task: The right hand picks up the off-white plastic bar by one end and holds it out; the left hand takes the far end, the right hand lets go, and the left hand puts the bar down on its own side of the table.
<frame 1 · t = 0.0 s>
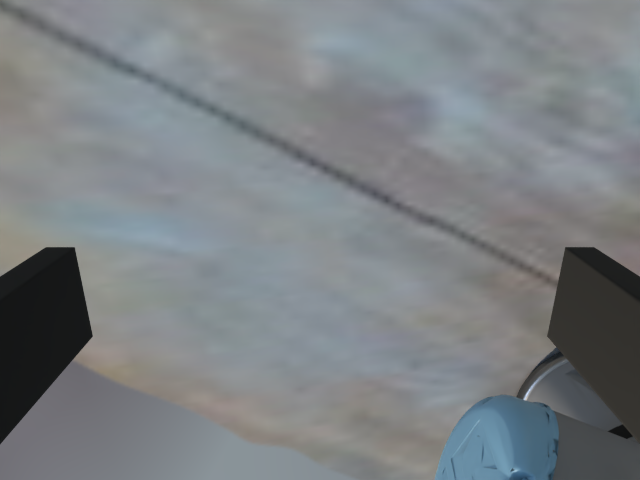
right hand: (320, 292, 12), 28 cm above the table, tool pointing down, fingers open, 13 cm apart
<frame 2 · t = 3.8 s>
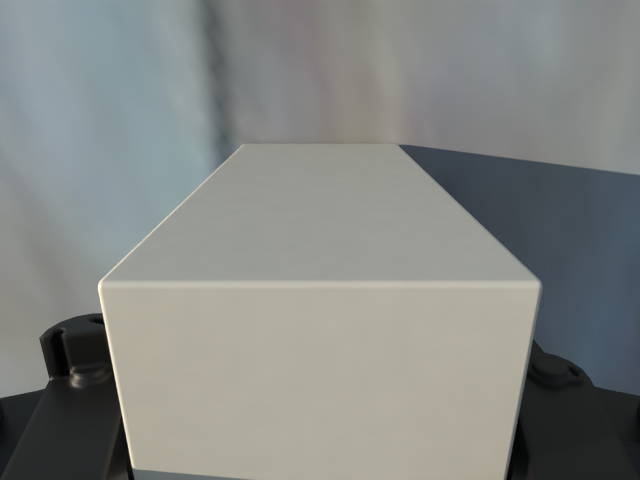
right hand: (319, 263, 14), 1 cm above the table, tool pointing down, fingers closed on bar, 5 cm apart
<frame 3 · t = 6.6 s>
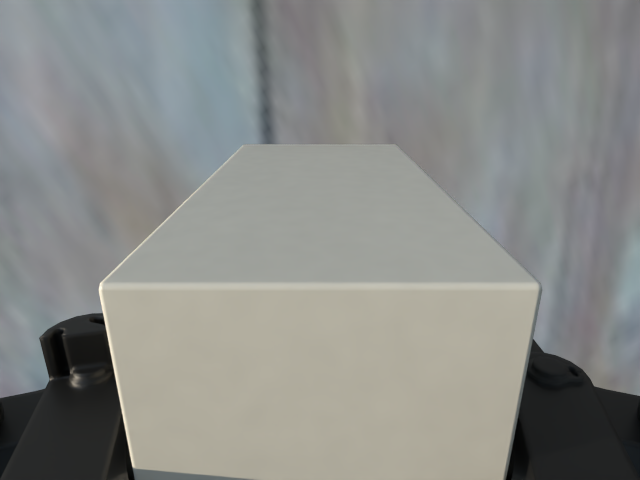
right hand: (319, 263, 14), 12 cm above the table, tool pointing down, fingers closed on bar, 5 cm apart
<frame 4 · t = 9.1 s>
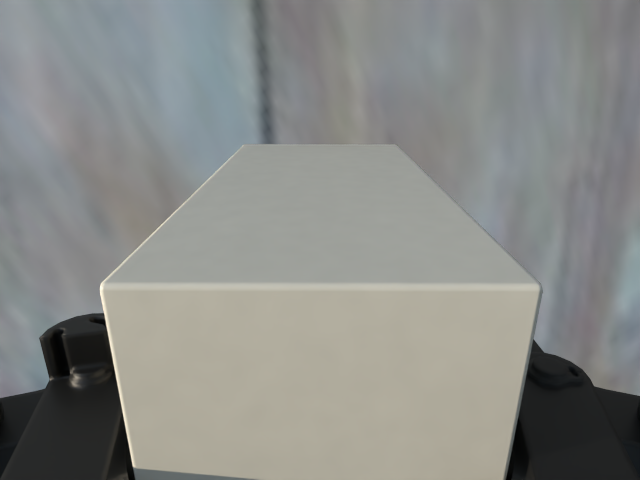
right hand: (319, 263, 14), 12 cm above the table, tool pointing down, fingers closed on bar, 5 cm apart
when the right hand's fingers open (12 cm above the table, at t = 9.7 s): bar stays where it is, held by the left hand.
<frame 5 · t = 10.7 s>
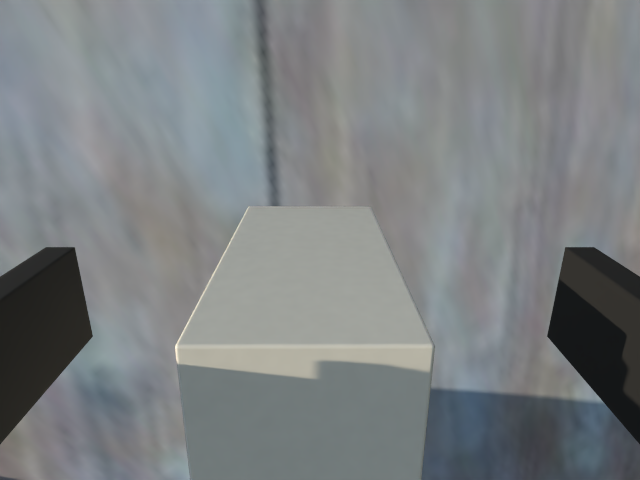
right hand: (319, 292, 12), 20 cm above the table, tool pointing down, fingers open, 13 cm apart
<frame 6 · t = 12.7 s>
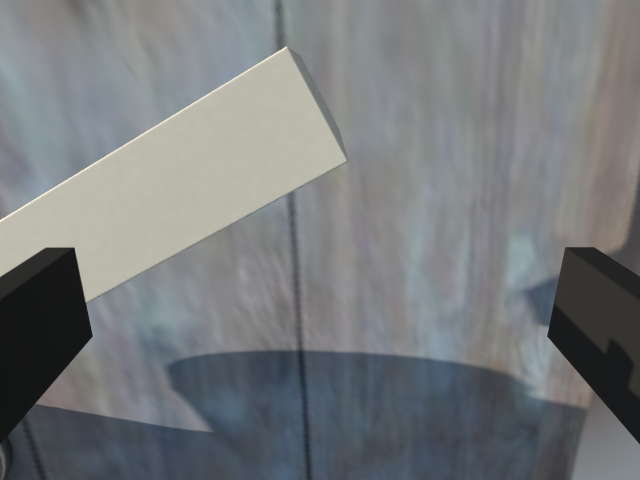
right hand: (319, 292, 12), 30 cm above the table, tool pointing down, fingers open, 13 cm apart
bar: (94, 224, 28), point 15 cm above the table, touching left hand
when the left hand's fingers open (2 cm above the table, at t = 16.3 s): bar drops 1 cm, on the table.
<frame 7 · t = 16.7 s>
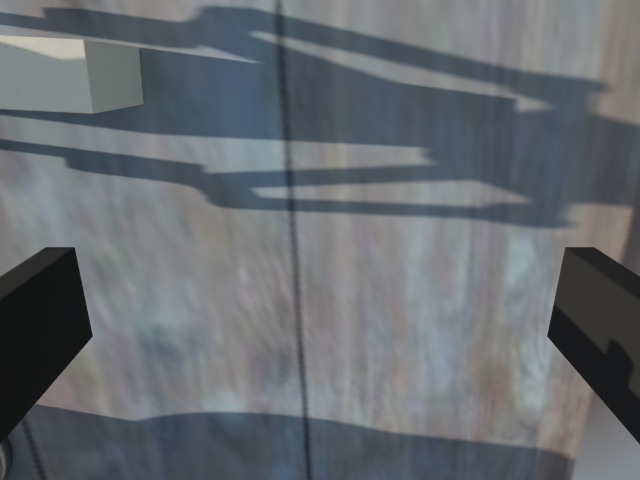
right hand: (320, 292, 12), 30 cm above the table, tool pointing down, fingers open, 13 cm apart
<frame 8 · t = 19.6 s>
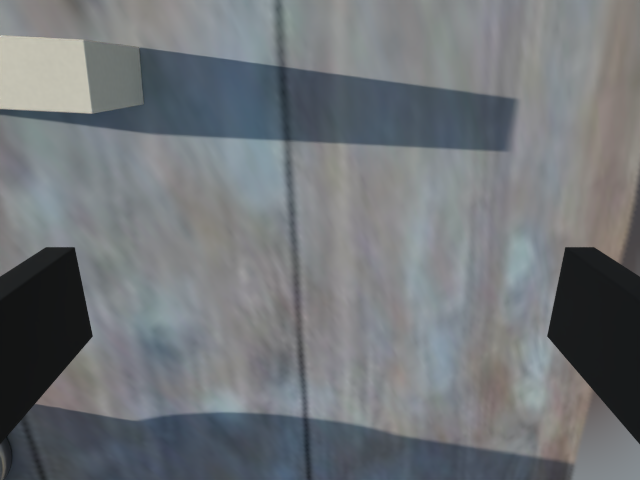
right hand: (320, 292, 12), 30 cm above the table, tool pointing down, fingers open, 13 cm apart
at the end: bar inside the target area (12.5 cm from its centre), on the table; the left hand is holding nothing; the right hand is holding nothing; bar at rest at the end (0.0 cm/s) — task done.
